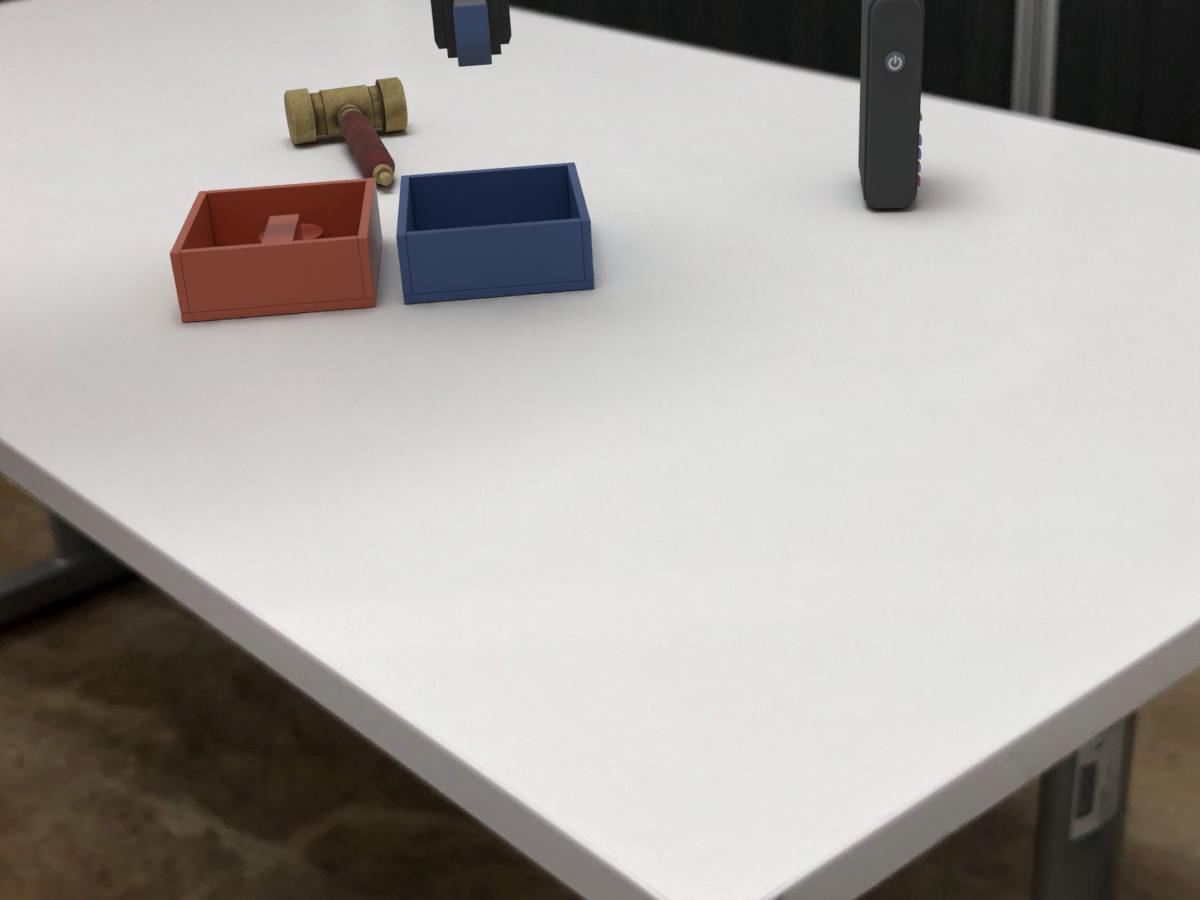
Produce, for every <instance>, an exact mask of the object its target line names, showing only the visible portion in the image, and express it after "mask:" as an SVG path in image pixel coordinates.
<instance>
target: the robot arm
mask: <svg viewBox="0 0 1200 900" xmlns="http://www.w3.org/2000/svg"><path fill="white" fill-rule="evenodd" d="M429 1H430V9H431V19H432V29H433V38H434V43H435V44H436V47H437V49H438V50H446V52H447V53H446V54H447V59H458V56H457V46H456V35H455V25H454V15H453V0H429ZM487 9H488V20H489V32H490V43H491V55H492V56H497V55H499V56H500V55H502V45H510V42H511V38H512V23H511V13H510V12H511V11H510V9H511V8H510V0H487Z"/></svg>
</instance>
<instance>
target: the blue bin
mask: <svg viewBox="0 0 1200 900" xmlns="http://www.w3.org/2000/svg"><path fill="white" fill-rule="evenodd" d="M398 198H399V200H398V209H397V221H396V222H397V223H396V235H395V237H396V247H397V255H398V262H399V271H400V280H401V288H402V289H401V290H402V297H403V298H402V299H403V304H404V305H408V304H409V305H410V304H421V303H422V304H423V303H433V302H435V303H436V302H446V301H458V300H469V299H483V298H494V297H507V296H519V295H520V296H521V295H531V294H532V295H533V294H543V293H555V292H567V291H581V290H593V289H595V287H596V286H595V272H594V271H595V270H594V269H595V268H594V254H593V238H592V237H593V235H592V220H591V217H590V213H589V210H588V205H587V202H586V198H585V195H584V190H583V187H582V184H581V181H580V177H579V173H578V170H577V166H576V162H573V161H572V162H561V163H560V162H559V163H558V162H557V163H548V164H546V163H545V164H535V165H533V164H532V165H520V166H509V167H506V166H505V167H495V168H481V169H469V170H456V171H455V170H454V171H444V172H428V173H419V174H418V173H417V174H416V173H415V174H410V175H409V174H404V175H401V176H400V185H399V197H398Z"/></svg>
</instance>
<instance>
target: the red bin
mask: <svg viewBox="0 0 1200 900" xmlns="http://www.w3.org/2000/svg"><path fill="white" fill-rule="evenodd" d="M292 214H299V215H300V221H301V223H306V224H314V225H317V226H320V227H321V228H322V229H323V232H324V238H323V239H310V240H298V241H285V242H272V243H260V244H259V240H258V236H259V235H260V233H262V232H263V231H265V230H266V227H267V224H268V220H269V217H270V216H279V215H292ZM381 224H382V223H381V215H380V208H379V199H378V189H377V183H376V181H375V178H367V177H366V178H353V179H339V180H327V181H314V182H300V183H287V184H273V185H263V186H262V185H261V186H249V187H238V188H237V187H236V188H221V189H212V190H211V189H209V190H199V191H198V192H197V195H196V197H195V199H194V201H193V203H192V205H191V208H190V210H189V211H188V213H187V215H186V218H185V220H184V222H183V225H182V227H181V229H180V231H179V233H178V234H177V237H176V240H175V241H174V244H173V245H172V248H171V250H170V252H169V258H170V263H171V269H172V274H173V275H172V276H173V280H174V286H175V290H176V296H177V301H178V307H179V312H180V318H181V319H180V320H181V322H182V323H190V322H202V321H214V320H226V319H238V318H240V319H241V318H252V317H263V316H275V315H288V314H298V313H299V314H300V313H311V312H312V313H313V312H324V311H336V310H349V309H360V308H361V309H362V308H373V307H376V306H377V297H378V287H379V276H380V267H381V259H382V258H381V257H382V249H383V248H382V247H383V240H384V239H383V233H382V232H383V231H382V225H381Z"/></svg>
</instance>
